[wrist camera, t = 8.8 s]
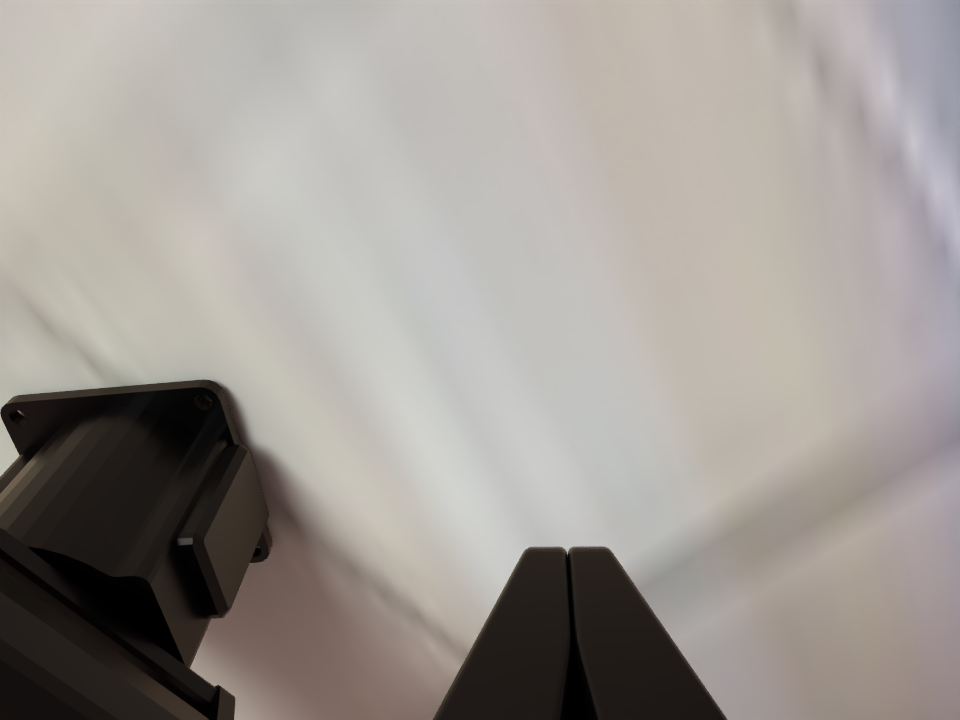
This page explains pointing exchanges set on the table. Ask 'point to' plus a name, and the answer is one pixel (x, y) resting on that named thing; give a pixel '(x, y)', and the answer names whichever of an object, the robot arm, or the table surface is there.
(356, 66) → the table surface
